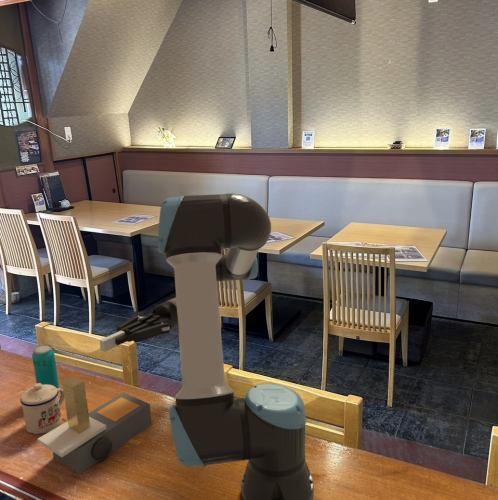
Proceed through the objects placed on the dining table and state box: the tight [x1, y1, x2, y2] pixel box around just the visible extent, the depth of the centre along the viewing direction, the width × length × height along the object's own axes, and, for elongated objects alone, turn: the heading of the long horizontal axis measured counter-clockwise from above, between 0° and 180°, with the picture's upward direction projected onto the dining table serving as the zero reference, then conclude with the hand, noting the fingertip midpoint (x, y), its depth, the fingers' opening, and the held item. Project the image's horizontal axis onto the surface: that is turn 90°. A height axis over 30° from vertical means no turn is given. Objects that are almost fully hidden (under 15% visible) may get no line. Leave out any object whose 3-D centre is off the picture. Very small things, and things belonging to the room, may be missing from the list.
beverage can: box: [31, 344, 60, 394], centre depth 143 cm, size 6×6×15 cm
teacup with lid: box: [19, 383, 65, 435], centre depth 132 cm, size 12×9×12 cm
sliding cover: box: [37, 376, 106, 457], centre depth 115 cm, size 12×9×13 cm
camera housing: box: [52, 392, 153, 475], centre depth 124 cm, size 22×11×6 cm, turn 144°
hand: (102, 345), depth 121 cm, fingers closed
